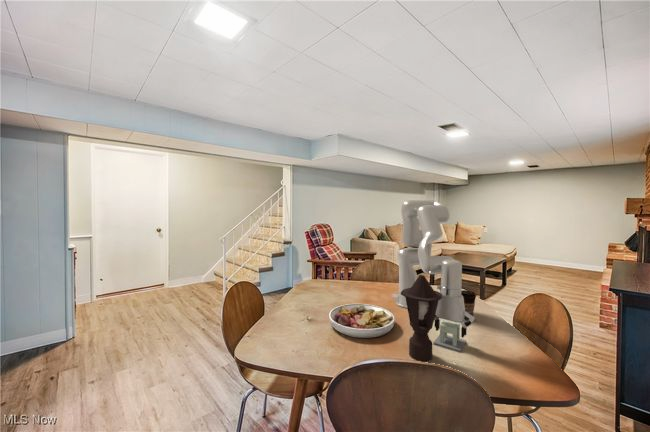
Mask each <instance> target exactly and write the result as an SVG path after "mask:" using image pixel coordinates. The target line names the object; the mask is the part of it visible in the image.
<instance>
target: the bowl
mask: <svg viewBox="0 0 650 432" xmlns="http://www.w3.org/2000/svg"><path fill="white" fill-rule="evenodd" d="M328 319H329V323H330V325H331V326H332V327H333V329H335V331H338V332H339V333H341V334H343V335H346V336H348V337H352V338H360V339H368V338H369V339H371V338H372V339H373V338H377V337H381V336H384V335H386V334H387V333H389V332H390V331H391V330H392V329H393V327H394V325H395V316H394V314H393V313H392V312H391V311H389V310H388V309H386V308H384V307H380V306H378V305H373V304H368V303H347V304H342V305H339V306H336V307H334V308H332V309H331V310H330V311H329V314H328Z"/></svg>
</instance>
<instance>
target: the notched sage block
mask: <svg viewBox="0 0 650 432" xmlns="http://www.w3.org/2000/svg"><path fill="white" fill-rule="evenodd" d="M460 329H461V323H458V322H453V321H449V320H445V319H443V321H442V322H440V328H439V335H440V342H442V343H443V342H444V338H447V335H448V334H450V335H452V337H453V346H457V341H458V342H459V341H460V339H461V338H460V337H461V335H460V334H461V330H460Z"/></svg>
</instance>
